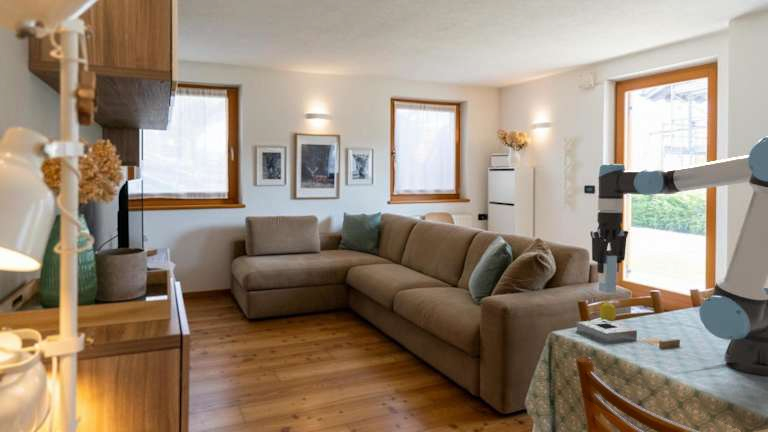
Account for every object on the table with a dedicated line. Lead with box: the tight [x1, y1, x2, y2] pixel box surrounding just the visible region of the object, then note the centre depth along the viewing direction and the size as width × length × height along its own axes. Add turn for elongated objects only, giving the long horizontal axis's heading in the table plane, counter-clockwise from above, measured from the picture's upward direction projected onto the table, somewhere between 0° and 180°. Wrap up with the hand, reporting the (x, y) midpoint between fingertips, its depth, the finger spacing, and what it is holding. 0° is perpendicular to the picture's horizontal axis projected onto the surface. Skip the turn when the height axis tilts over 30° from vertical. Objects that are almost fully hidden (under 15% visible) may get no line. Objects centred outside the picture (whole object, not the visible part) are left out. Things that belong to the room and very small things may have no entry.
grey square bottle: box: [598, 249, 617, 294], centre depth 170 cm, size 4×4×14 cm
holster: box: [639, 337, 681, 349], centre depth 163 cm, size 9×7×3 cm
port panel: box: [576, 319, 638, 344], centre depth 171 cm, size 14×12×4 cm
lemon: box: [599, 301, 617, 322], centre depth 188 cm, size 6×6×8 cm
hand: (607, 282), depth 170 cm, fingers closed on grey square bottle, 4 cm apart
